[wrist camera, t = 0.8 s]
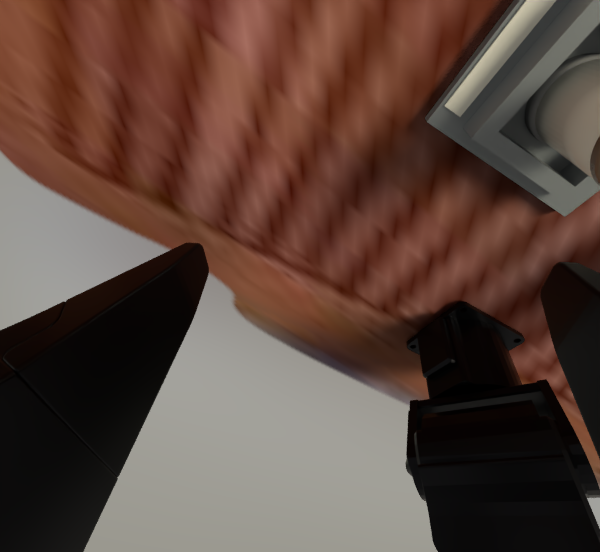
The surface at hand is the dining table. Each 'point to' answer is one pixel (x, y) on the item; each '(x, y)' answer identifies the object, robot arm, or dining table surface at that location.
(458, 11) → the dining table surface
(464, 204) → the dining table surface
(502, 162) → the socket block
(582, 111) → the banded cream cylinder
